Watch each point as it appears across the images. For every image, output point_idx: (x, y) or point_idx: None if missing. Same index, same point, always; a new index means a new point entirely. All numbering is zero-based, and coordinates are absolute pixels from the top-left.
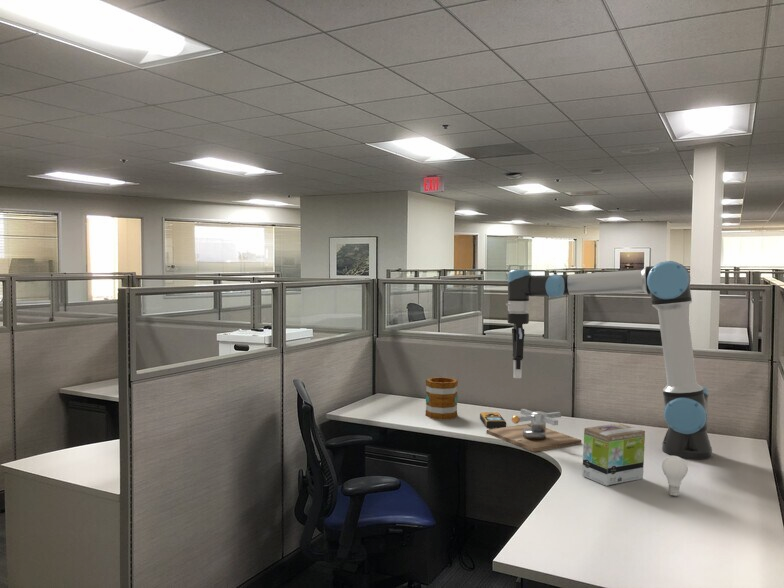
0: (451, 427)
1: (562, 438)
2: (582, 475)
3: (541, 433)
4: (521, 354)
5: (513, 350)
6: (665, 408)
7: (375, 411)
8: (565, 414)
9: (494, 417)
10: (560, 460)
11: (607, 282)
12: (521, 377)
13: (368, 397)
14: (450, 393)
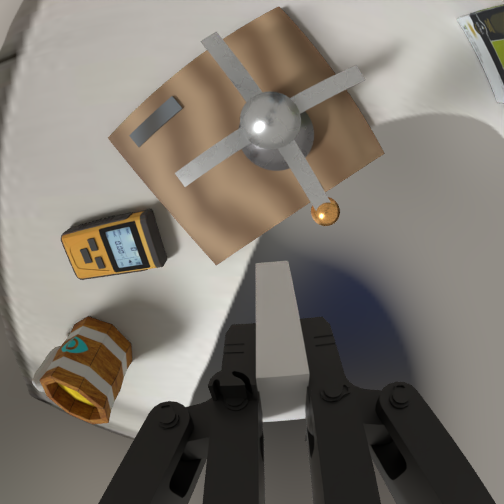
0: (187, 332)
1: (272, 51)
2: (497, 102)
3: (303, 115)
4: (435, 432)
5: (190, 494)
6: None
7: (133, 416)
8: (4, 74)
9: (111, 247)
10: (431, 105)
11: None
12: (288, 264)
13: None
14: (95, 373)
